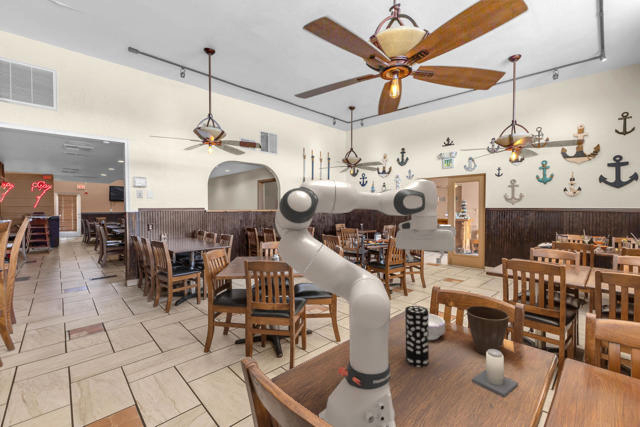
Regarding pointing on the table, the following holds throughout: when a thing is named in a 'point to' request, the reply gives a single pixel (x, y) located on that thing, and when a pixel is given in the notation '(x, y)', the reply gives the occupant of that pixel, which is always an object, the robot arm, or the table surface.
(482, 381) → the plate
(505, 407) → the table surface
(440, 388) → the table surface
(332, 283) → the robot arm
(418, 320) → the spotted tube
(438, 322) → the paper bowls
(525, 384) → the table surface
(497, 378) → the shaker
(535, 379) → the table surface
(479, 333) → the plant pot
